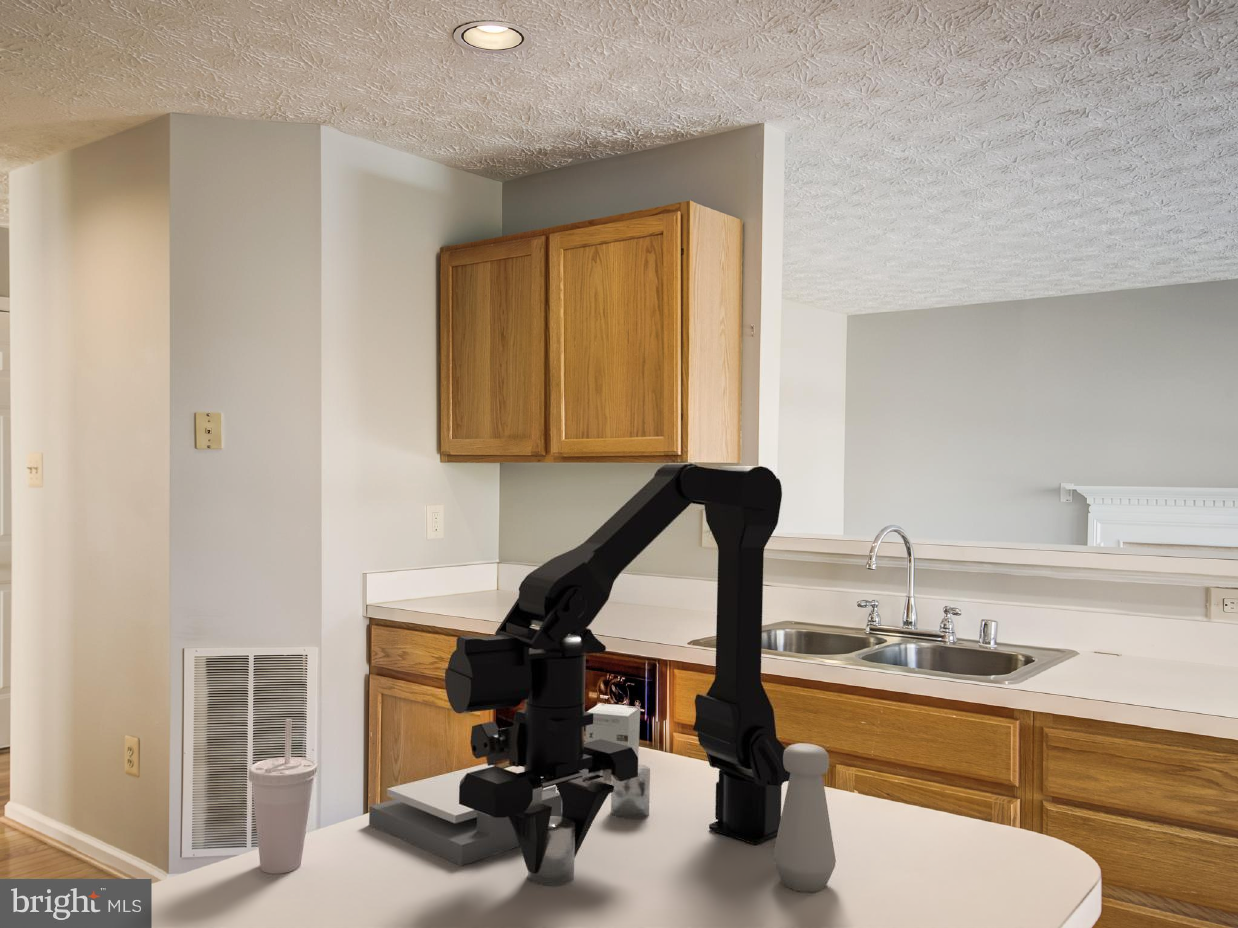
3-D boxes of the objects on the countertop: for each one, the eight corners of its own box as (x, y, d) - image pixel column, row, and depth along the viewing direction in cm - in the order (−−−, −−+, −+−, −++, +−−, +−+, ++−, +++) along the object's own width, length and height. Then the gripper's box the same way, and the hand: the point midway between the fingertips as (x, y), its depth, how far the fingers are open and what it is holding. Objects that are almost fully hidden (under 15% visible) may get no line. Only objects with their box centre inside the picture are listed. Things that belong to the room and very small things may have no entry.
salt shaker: (840, 897, 92) (842, 755, 92) (777, 895, 92) (780, 753, 92) (828, 872, 97) (830, 739, 98) (769, 870, 98) (772, 737, 98)
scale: (586, 824, 109) (587, 782, 109) (463, 866, 97) (464, 819, 97) (490, 790, 120) (491, 752, 121) (369, 824, 108) (370, 781, 108)
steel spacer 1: (583, 876, 95) (584, 824, 95) (550, 889, 92) (551, 835, 92) (551, 863, 98) (553, 812, 98) (518, 876, 95) (519, 823, 95)
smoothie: (329, 860, 98) (333, 717, 98) (281, 884, 92) (285, 732, 92) (279, 849, 100) (283, 710, 101) (230, 871, 95) (234, 723, 95)
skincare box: (583, 767, 131) (584, 711, 131) (597, 755, 137) (598, 701, 137) (627, 771, 130) (629, 715, 130) (639, 759, 136) (640, 705, 136)
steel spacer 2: (657, 813, 114) (658, 769, 114) (631, 822, 111) (632, 777, 111) (628, 803, 117) (629, 761, 117) (602, 812, 114) (603, 768, 114)
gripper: (566, 676, 108) (562, 821, 107) (424, 702, 94) (420, 868, 94) (643, 692, 100) (640, 848, 100) (501, 723, 86) (497, 904, 86)
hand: (551, 865), depth 95 cm, fingers closed on steel spacer 1, 4 cm apart
